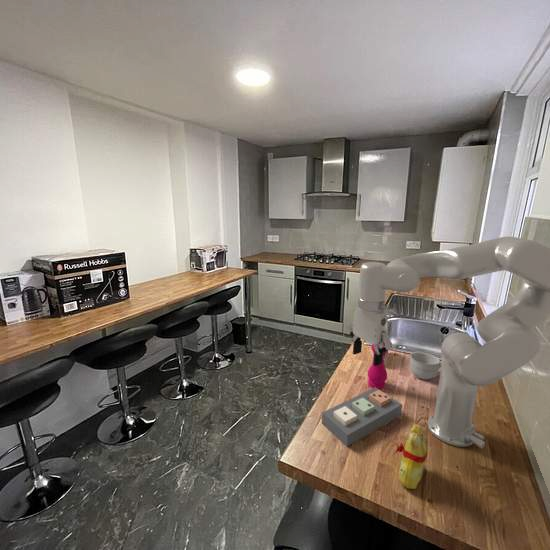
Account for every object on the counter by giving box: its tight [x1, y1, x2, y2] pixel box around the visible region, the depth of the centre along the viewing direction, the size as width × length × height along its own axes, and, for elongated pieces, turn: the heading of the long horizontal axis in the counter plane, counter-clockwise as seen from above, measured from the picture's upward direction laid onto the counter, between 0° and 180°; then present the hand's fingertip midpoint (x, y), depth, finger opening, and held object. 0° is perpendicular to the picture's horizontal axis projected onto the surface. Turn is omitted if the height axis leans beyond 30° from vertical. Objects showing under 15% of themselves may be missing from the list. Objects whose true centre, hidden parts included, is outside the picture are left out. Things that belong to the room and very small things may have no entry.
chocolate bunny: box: [394, 424, 428, 490], centre depth 74 cm, size 7×11×15 cm, turn 140°
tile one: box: [333, 406, 357, 427], centre depth 90 cm, size 5×5×4 cm
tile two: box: [352, 398, 375, 417], centre depth 94 cm, size 5×5×4 cm
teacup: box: [409, 351, 441, 380], centre depth 118 cm, size 14×11×8 cm
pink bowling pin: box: [367, 342, 389, 391], centre depth 111 cm, size 7×7×20 cm
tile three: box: [369, 390, 392, 407], centre depth 98 cm, size 5×5×4 cm
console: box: [321, 387, 403, 448], centre depth 95 cm, size 11×25×4 cm, turn 122°
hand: (366, 358), depth 90 cm, fingers open, 7 cm apart
